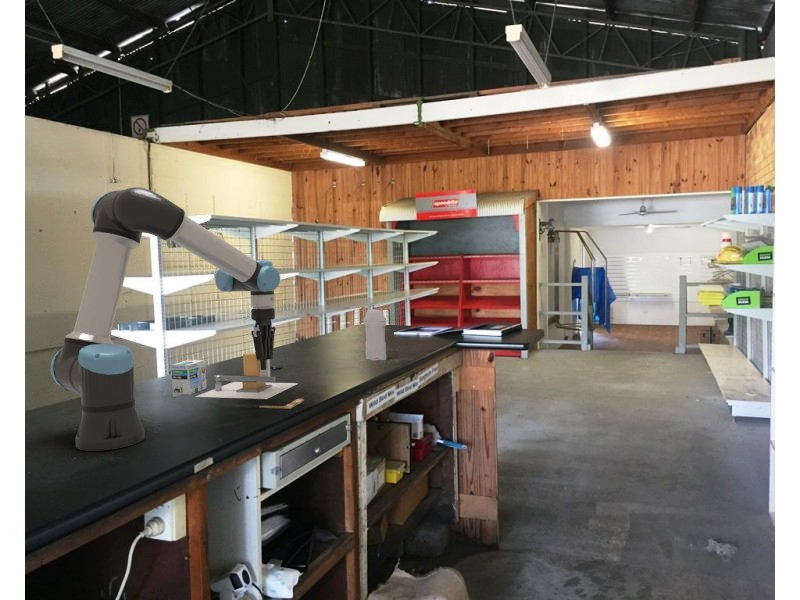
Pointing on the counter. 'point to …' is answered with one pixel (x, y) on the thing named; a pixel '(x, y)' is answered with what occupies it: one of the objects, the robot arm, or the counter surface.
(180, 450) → the counter surface
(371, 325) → the tall pale column
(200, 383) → the light bulb box
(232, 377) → the silver metal bar
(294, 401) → the tan flat l-shape
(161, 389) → the counter surface
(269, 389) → the socket board
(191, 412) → the counter surface
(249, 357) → the tan tall block
